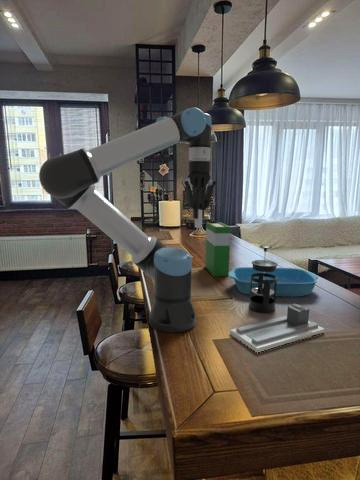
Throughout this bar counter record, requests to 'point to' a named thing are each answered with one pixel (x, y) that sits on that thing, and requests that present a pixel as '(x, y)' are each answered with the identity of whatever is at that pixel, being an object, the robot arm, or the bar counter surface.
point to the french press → (263, 286)
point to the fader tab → (297, 315)
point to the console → (273, 333)
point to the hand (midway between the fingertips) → (198, 227)
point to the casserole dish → (287, 281)
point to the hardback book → (217, 248)
